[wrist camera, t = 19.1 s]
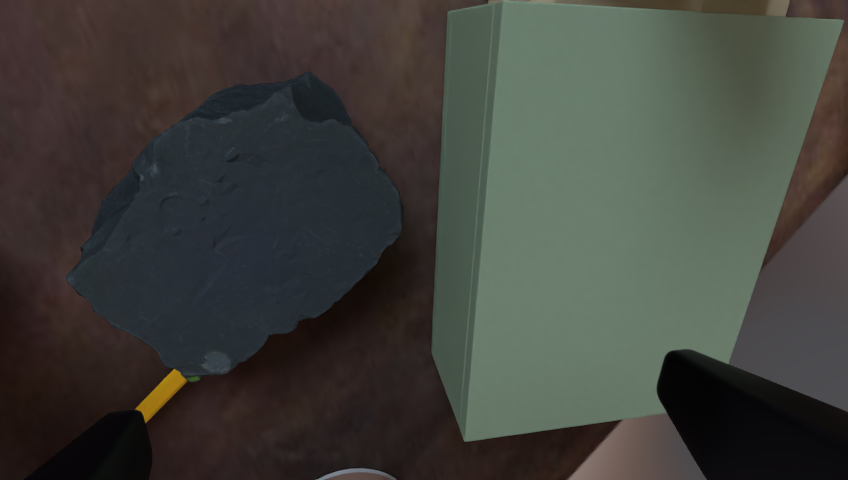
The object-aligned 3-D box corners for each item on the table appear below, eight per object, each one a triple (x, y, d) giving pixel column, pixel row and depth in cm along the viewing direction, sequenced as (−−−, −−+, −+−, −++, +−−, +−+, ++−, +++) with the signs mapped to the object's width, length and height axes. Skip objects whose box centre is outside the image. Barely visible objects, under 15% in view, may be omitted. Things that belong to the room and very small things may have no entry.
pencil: (25, 518, 22) (16, 532, 22) (302, 234, 20) (301, 241, 19) (42, 525, 23) (34, 538, 22) (316, 246, 20) (317, 252, 20)
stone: (50, 240, 18) (0, 270, 15) (287, 31, 17) (278, 26, 14) (216, 370, 21) (199, 414, 19) (425, 200, 20) (440, 221, 18)
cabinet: (446, 11, 18) (502, 0, 13) (706, 24, 20) (845, 20, 15) (430, 352, 24) (464, 442, 19) (632, 332, 26) (714, 407, 21)
